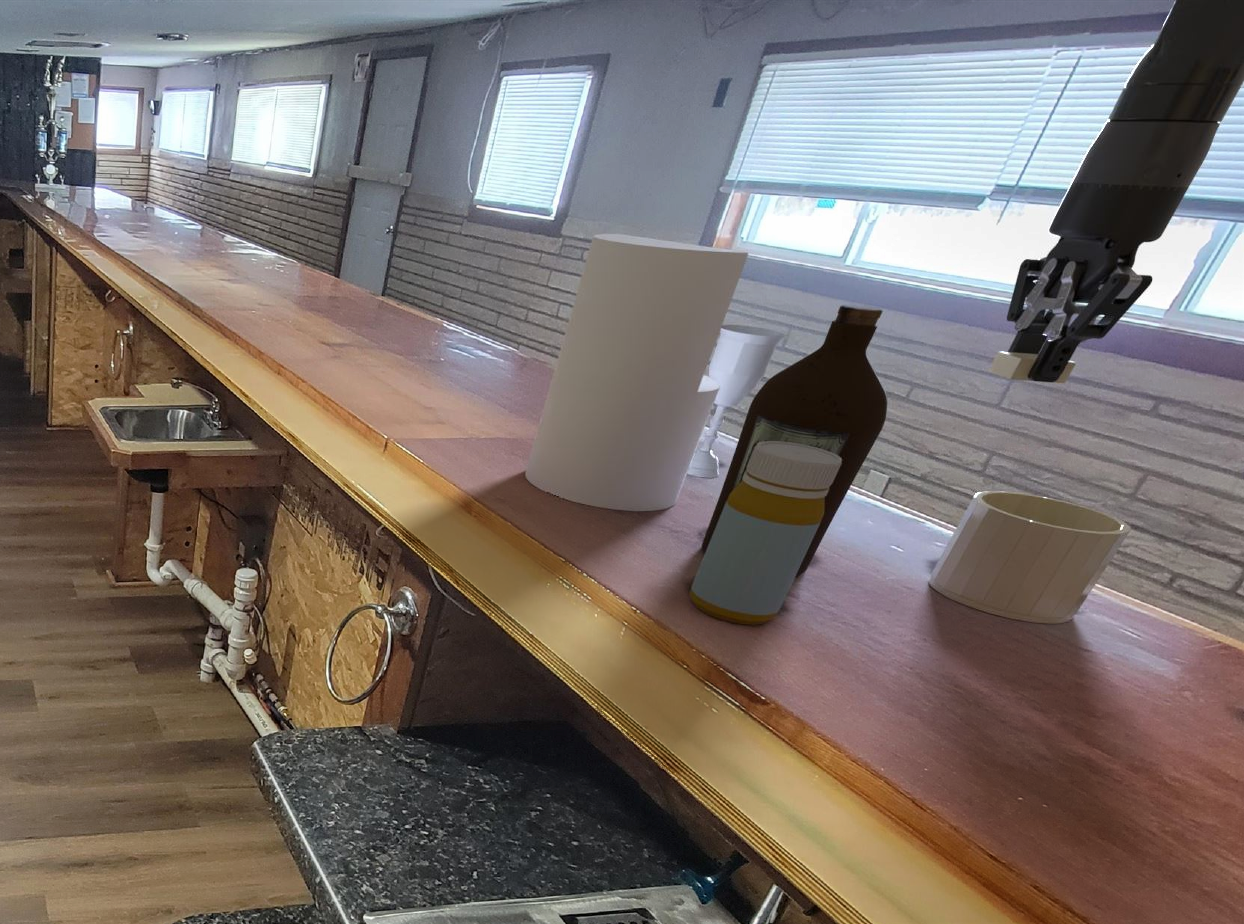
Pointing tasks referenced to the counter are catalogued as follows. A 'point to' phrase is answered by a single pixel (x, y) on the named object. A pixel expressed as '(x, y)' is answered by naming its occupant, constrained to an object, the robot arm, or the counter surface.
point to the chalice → (733, 381)
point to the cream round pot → (1027, 556)
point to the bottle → (764, 532)
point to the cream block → (1021, 366)
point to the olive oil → (819, 411)
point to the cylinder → (634, 373)
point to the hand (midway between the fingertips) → (1026, 375)
